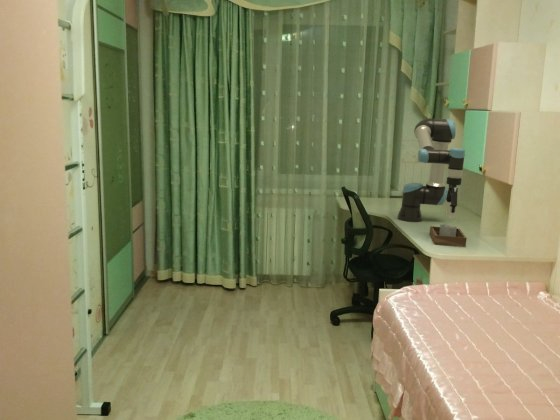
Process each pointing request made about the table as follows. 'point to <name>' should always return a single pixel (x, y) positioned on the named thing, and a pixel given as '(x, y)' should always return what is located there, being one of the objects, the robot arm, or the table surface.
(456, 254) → the table surface
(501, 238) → the table surface
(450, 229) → the medicine box
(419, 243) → the table surface
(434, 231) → the walnut box
